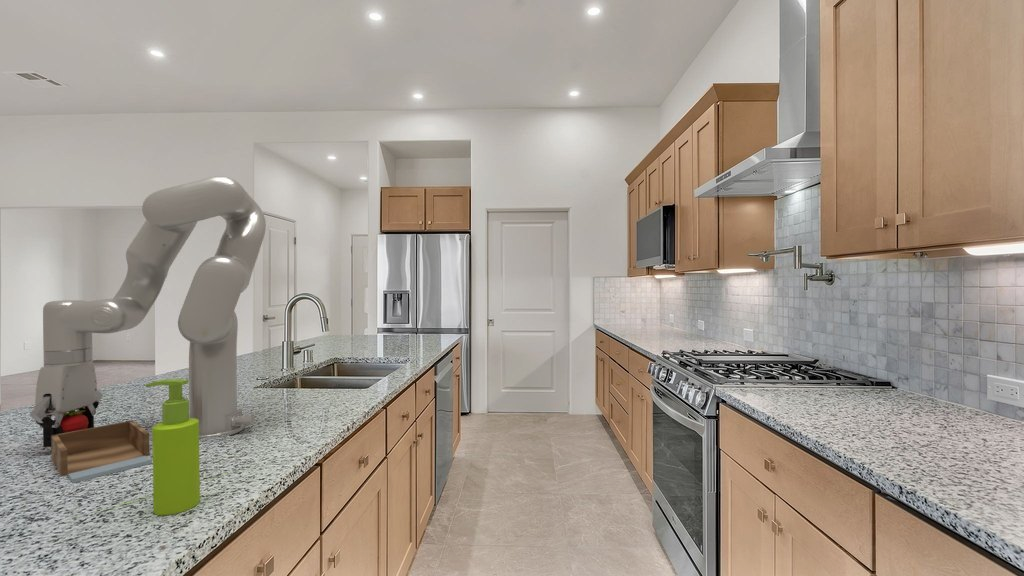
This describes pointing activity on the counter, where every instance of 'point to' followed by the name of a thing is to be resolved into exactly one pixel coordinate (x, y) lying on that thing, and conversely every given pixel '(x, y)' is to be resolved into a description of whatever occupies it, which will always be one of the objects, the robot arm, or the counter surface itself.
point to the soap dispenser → (175, 454)
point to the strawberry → (74, 421)
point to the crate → (98, 446)
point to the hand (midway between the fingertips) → (69, 439)
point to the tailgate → (108, 469)
